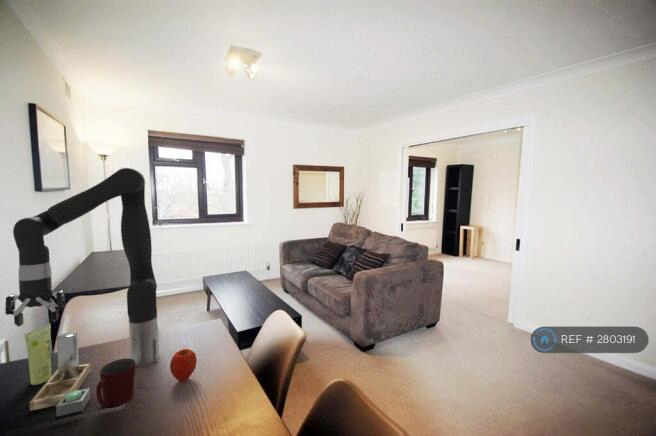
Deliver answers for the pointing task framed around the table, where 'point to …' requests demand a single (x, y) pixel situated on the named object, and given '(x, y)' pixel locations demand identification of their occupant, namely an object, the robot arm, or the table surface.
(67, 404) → the grey square dish
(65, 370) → the seated billet
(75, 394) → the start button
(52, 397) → the wooden compartment tray
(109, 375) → the mug
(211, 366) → the table surface
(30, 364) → the tube
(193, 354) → the apple
